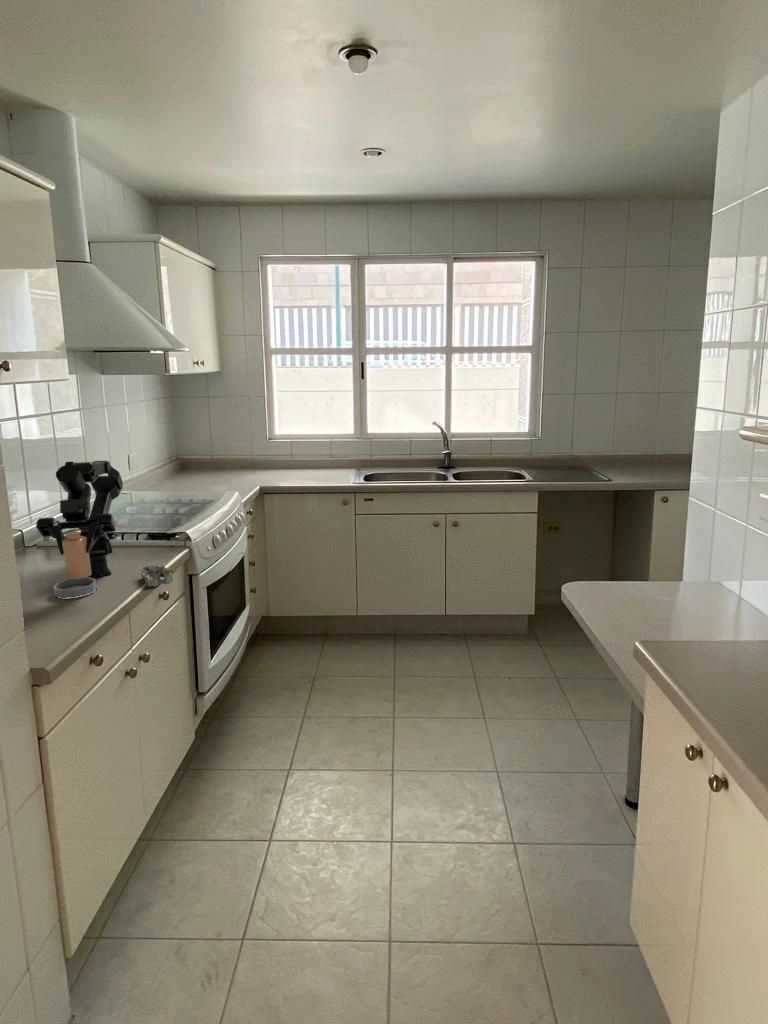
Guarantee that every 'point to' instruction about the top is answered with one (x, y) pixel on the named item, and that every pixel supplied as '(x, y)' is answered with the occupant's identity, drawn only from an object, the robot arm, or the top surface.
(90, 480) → the robot arm
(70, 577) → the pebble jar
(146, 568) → the egg carton
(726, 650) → the top surface
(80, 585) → the slate bowl
